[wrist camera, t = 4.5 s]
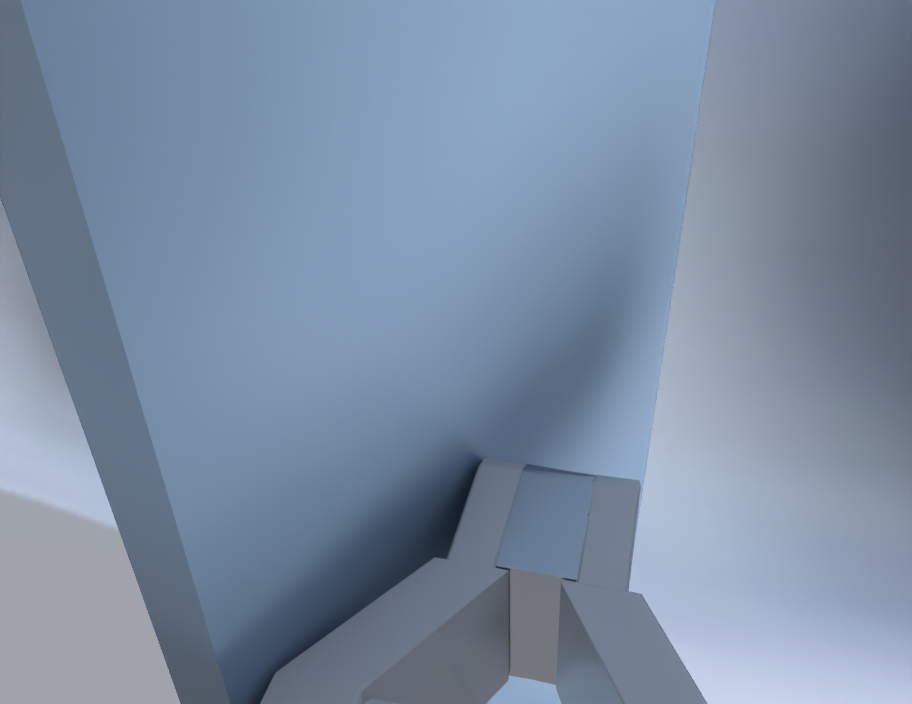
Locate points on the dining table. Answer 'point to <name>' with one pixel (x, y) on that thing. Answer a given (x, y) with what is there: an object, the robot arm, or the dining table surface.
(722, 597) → the dining table surface
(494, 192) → the cover
